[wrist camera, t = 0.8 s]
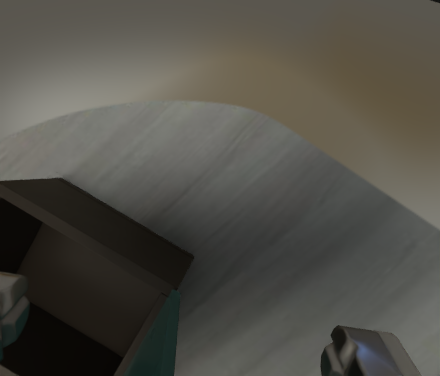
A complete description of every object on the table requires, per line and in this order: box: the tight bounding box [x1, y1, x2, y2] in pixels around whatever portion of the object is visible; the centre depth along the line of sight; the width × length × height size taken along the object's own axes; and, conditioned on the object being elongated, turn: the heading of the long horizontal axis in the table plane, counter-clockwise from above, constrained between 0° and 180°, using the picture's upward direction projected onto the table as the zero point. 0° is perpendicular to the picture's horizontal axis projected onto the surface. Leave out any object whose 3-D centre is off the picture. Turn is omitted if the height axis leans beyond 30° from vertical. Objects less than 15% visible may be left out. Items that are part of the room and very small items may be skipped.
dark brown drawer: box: [0, 178, 194, 376], centre depth 24 cm, size 14×12×7 cm
